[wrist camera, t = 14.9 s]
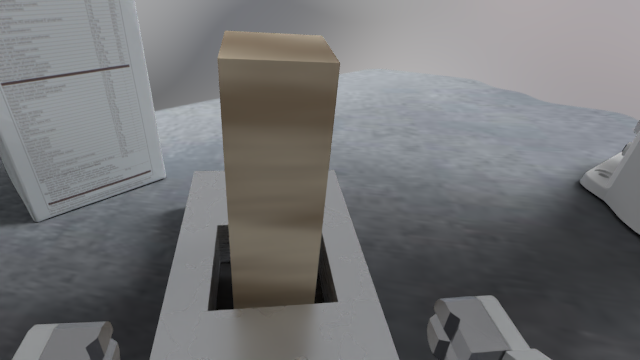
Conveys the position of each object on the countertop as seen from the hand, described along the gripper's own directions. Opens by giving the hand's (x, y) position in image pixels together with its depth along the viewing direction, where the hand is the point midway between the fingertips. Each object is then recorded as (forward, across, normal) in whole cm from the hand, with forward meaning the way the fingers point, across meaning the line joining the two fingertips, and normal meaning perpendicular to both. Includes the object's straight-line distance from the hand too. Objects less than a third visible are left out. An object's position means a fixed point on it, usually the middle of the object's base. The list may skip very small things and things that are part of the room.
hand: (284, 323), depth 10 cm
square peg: (+8, 0, +9) cm, 12 cm away
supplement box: (+22, +14, +9) cm, 28 cm away
